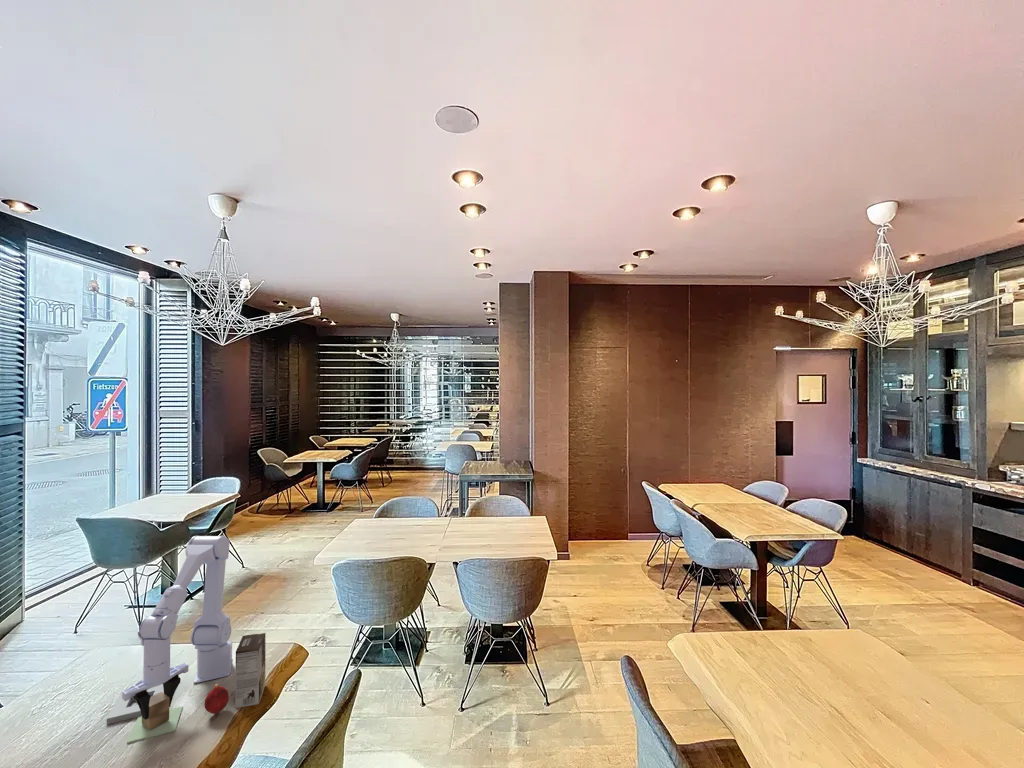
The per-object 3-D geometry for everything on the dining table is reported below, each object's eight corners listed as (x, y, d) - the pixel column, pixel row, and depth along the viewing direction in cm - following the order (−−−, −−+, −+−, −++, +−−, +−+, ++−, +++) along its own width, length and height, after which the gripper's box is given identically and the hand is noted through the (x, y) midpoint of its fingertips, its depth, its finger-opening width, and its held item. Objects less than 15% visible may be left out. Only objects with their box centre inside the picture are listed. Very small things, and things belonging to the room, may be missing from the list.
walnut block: (161, 713, 128) (161, 691, 128) (169, 719, 125) (169, 697, 125) (141, 723, 124) (142, 701, 124) (149, 730, 121) (149, 706, 121)
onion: (233, 709, 130) (234, 680, 131) (214, 722, 125) (215, 693, 125) (218, 704, 132) (218, 676, 132) (199, 717, 127) (199, 688, 127)
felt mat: (182, 707, 131) (182, 706, 131) (175, 731, 122) (175, 729, 122) (138, 718, 127) (138, 717, 127) (127, 743, 118) (127, 742, 118)
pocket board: (170, 686, 140) (170, 681, 140) (161, 710, 130) (161, 705, 130) (120, 697, 135) (120, 692, 135) (106, 724, 124) (106, 718, 124)
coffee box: (242, 689, 139) (242, 635, 139) (266, 685, 141) (266, 631, 141) (234, 709, 130) (234, 651, 131) (259, 704, 132) (260, 647, 133)
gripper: (179, 644, 133) (179, 691, 133) (117, 670, 120) (116, 723, 120) (192, 651, 129) (192, 700, 129) (129, 679, 117) (128, 733, 117)
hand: (156, 711), depth 124 cm, fingers closed on walnut block, 4 cm apart
